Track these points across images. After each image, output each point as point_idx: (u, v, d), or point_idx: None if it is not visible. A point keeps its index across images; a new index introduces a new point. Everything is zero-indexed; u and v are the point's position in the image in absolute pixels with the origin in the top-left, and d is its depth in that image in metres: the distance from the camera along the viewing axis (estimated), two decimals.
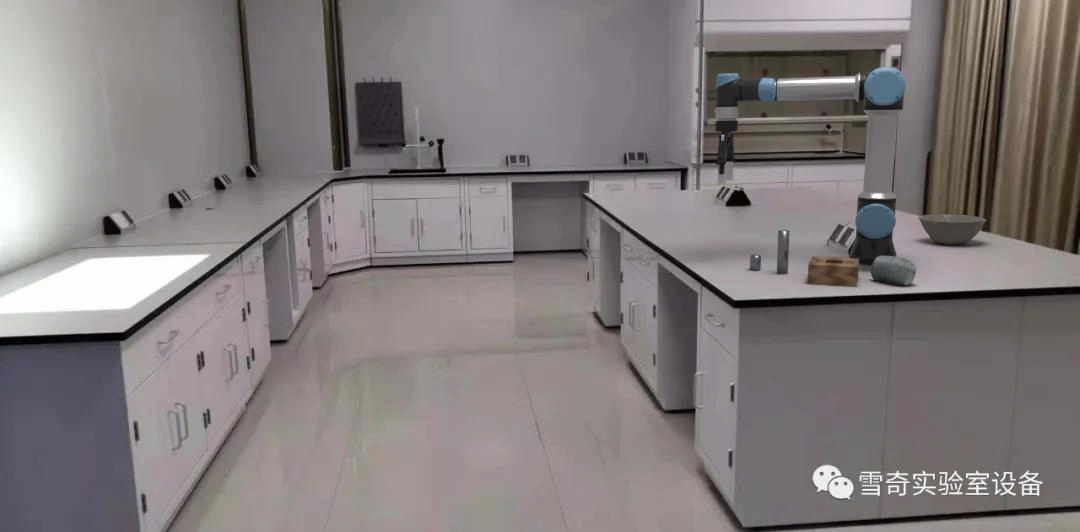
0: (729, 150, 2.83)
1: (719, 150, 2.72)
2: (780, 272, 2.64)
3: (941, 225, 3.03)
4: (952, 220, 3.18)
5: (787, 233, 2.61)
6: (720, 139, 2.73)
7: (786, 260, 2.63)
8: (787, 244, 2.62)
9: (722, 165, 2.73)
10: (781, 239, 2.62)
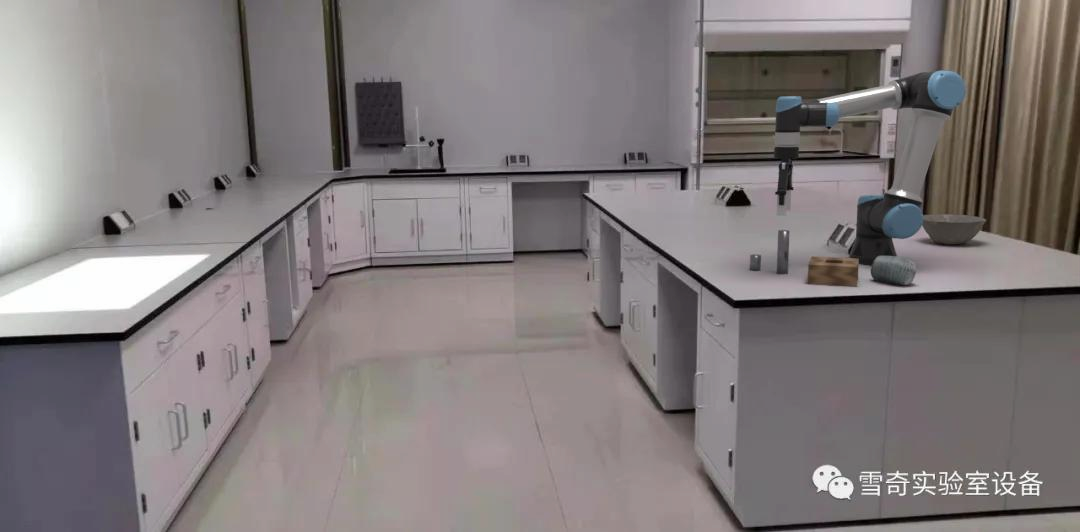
0: (787, 178, 2.63)
1: (779, 179, 2.52)
2: (780, 272, 2.64)
3: (941, 225, 3.03)
4: (952, 220, 3.18)
5: (787, 233, 2.61)
6: (781, 167, 2.53)
7: (786, 260, 2.63)
8: (787, 244, 2.62)
9: (782, 195, 2.52)
10: (781, 239, 2.62)
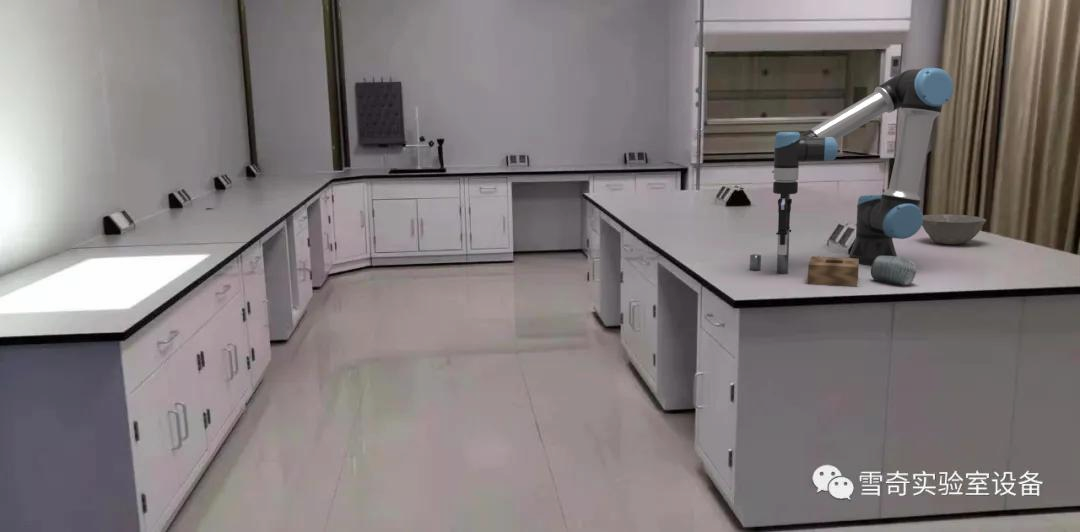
0: None
1: (779, 221, 2.57)
2: (780, 272, 2.64)
3: (941, 225, 3.03)
4: (952, 220, 3.18)
5: (787, 233, 2.61)
6: (780, 208, 2.56)
7: (786, 260, 2.63)
8: (787, 244, 2.62)
9: (783, 235, 2.59)
10: None
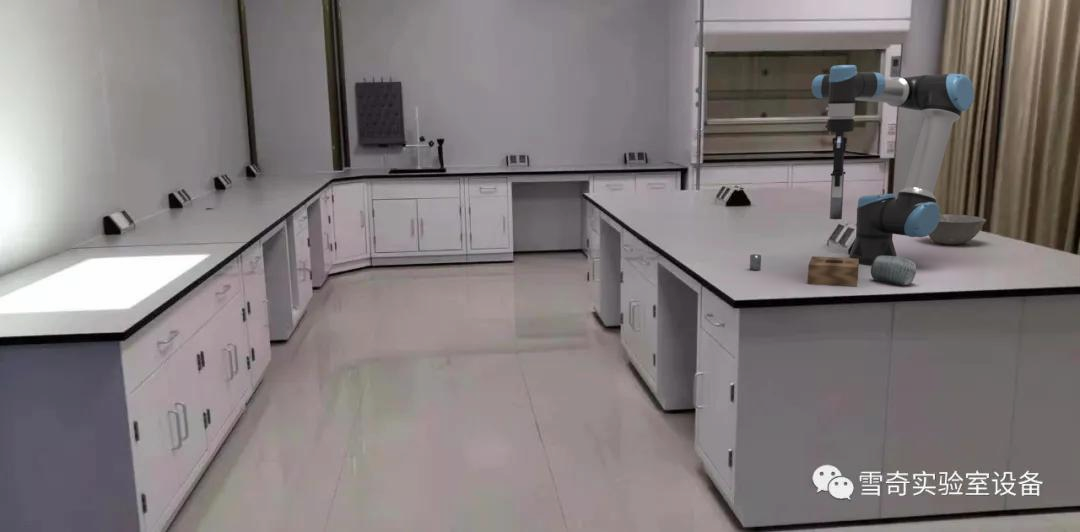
0: None
1: (835, 160, 2.41)
2: (834, 217, 2.48)
3: (941, 225, 3.03)
4: (952, 220, 3.18)
5: None
6: (835, 146, 2.40)
7: (840, 204, 2.47)
8: (842, 187, 2.46)
9: (838, 176, 2.43)
10: None
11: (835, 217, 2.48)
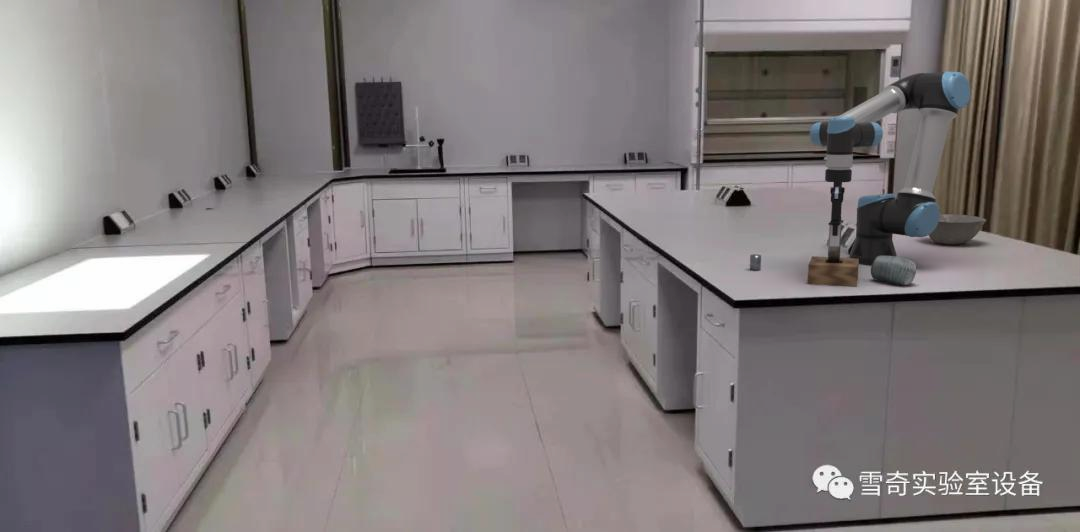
0: None
1: (832, 210, 2.44)
2: None
3: (941, 225, 3.03)
4: (952, 220, 3.18)
5: None
6: (833, 197, 2.43)
7: (837, 252, 2.50)
8: None
9: (836, 226, 2.46)
10: None
11: None
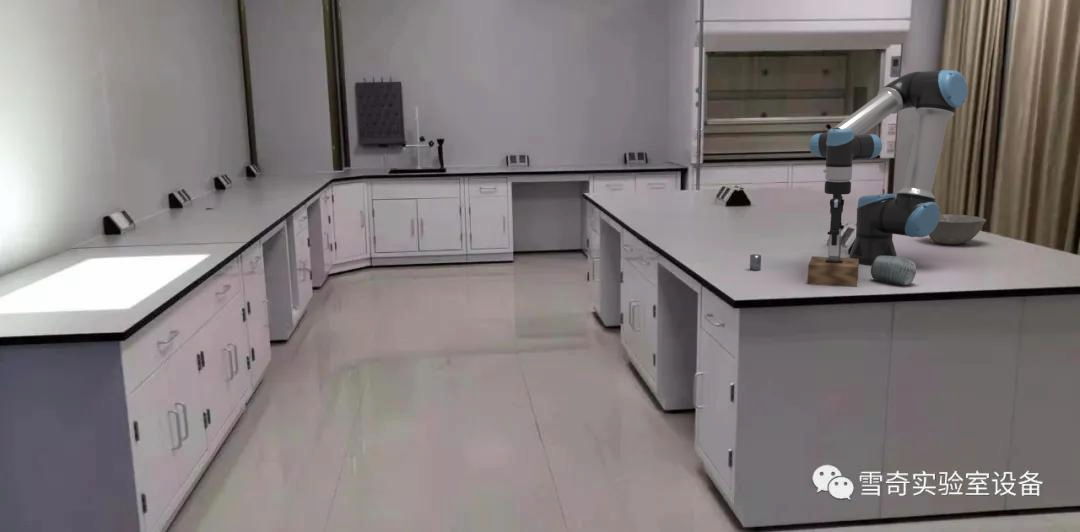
0: None
1: (832, 219, 2.42)
2: None
3: (941, 225, 3.03)
4: (952, 220, 3.18)
5: (839, 238, 2.49)
6: (833, 205, 2.42)
7: None
8: (839, 250, 2.50)
9: (835, 235, 2.43)
10: None
11: None
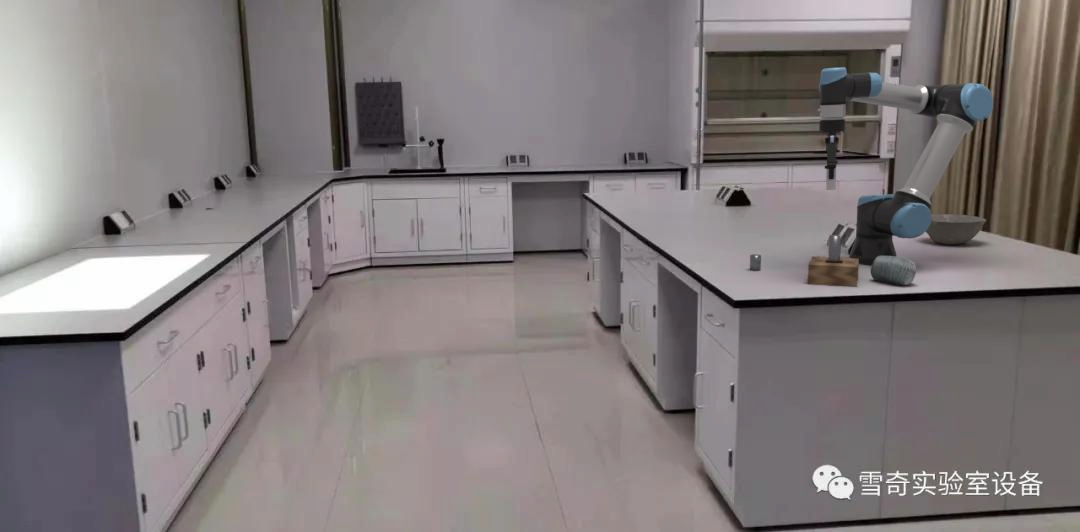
0: None
1: (829, 153, 2.47)
2: None
3: (941, 225, 3.03)
4: (952, 220, 3.18)
5: (839, 238, 2.49)
6: (829, 140, 2.48)
7: None
8: (839, 250, 2.50)
9: (832, 169, 2.48)
10: (833, 245, 2.49)
11: None
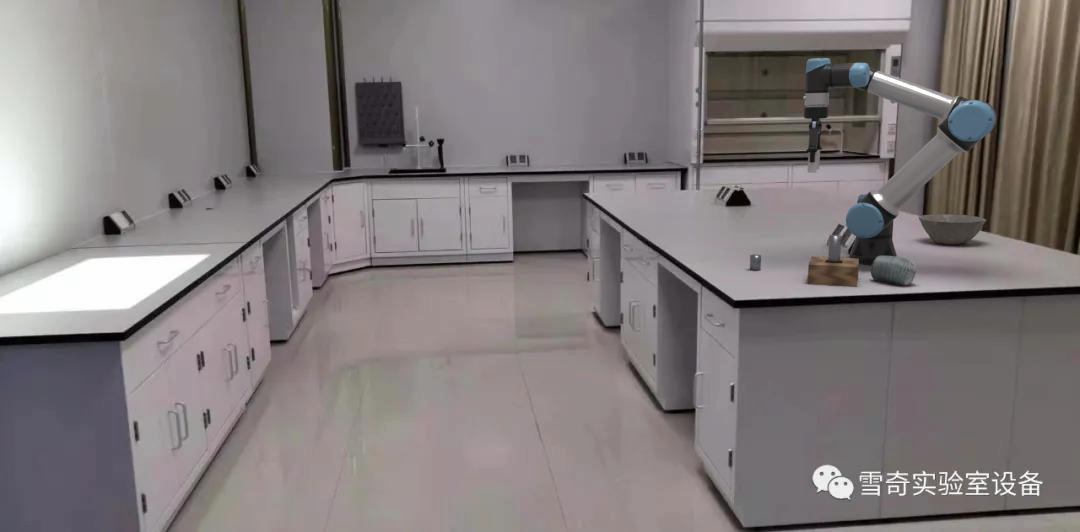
0: (817, 138, 2.75)
1: (810, 138, 2.64)
2: None
3: (941, 225, 3.03)
4: (952, 220, 3.18)
5: (839, 238, 2.49)
6: (811, 126, 2.65)
7: None
8: (839, 250, 2.50)
9: (813, 153, 2.65)
10: (833, 245, 2.49)
11: None
